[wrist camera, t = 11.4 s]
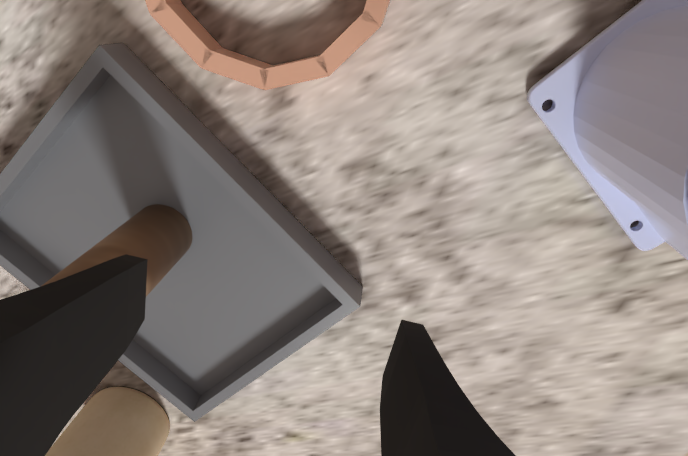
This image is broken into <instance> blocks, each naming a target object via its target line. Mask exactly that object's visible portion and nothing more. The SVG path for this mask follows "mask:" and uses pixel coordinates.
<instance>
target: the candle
mask: <svg viewBox="0 0 688 456" xmlns="http://www.w3.org/2000/svg"><path fill="white" fill-rule="evenodd" d="M169 429H170V424H169V420H168V417H167V415H166V413H165V411H164V410H163V408H162V407H161V406H160V405H159V404H158V403H157V402H156V401H155V400H153V399H152V398H151V397H149V396H148V395H146V394H144V393H142V392H140V391H137V390H134V389H131V388H126V387H109V388H106V389H103V390H101V391H99V392H98V393H96V394H95V395H94V396H93V397H92V398H91V399H90V400H89V401H88V403H87V404H86V405H85V406H84V407H83V409H82V410H81V411H80V412H79V413H78V415H77V416H76V417H75V418H74V420H73V421H72V422H71V423H70V425H69V426H68V427H67V428H66V430H65V431H64V432H63V433H62V435H61V436H60V437H59V438H58V440H57V441H56V442H55V443H54V445H53V446H52V447H51V448H50V450H49V451H48V452H47V453H46V455H45V456H158V454H159V452H160V451H161V449H162V447H163V445H164V443H165V441H166V439H167V436H168V433H169Z"/></svg>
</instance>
